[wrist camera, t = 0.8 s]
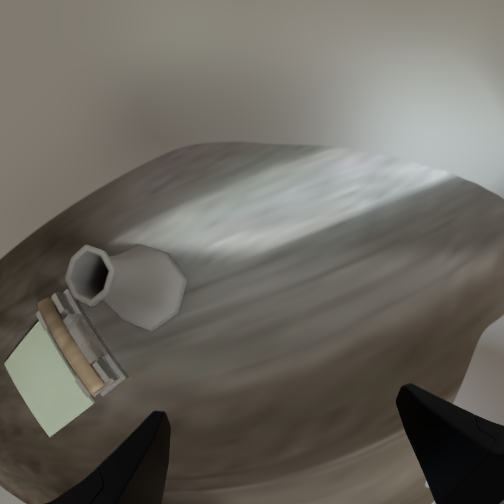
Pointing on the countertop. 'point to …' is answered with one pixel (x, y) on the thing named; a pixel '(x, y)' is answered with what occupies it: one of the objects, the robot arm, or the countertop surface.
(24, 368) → the pad
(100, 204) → the countertop surface
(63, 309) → the cradle
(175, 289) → the flask
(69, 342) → the rod
